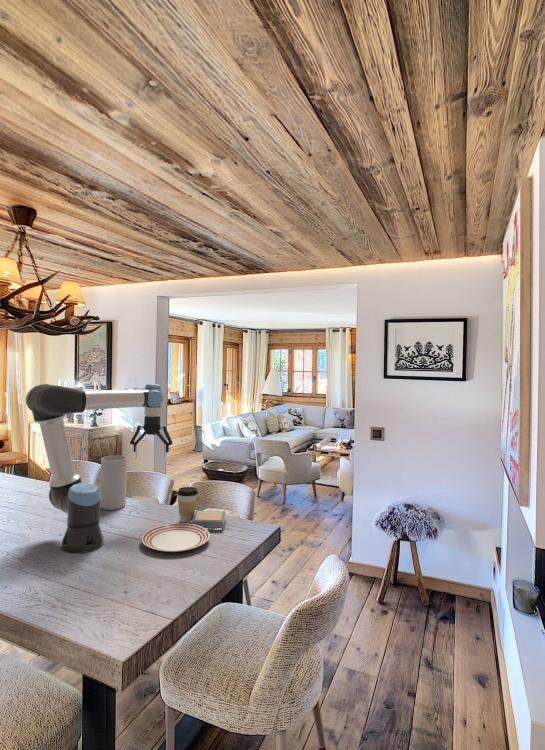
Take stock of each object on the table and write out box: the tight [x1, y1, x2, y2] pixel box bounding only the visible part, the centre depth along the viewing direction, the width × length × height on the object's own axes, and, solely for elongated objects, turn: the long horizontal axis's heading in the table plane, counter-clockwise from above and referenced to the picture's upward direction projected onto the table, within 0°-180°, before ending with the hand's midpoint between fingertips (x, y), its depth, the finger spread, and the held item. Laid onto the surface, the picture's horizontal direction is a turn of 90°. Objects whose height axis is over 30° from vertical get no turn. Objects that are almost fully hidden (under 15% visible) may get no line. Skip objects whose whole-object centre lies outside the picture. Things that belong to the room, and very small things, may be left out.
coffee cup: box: [176, 486, 199, 522], centre depth 196 cm, size 10×10×15 cm
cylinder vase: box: [99, 455, 128, 511], centre depth 213 cm, size 12×12×25 cm
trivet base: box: [191, 510, 226, 530], centre depth 192 cm, size 14×14×4 cm
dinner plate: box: [141, 522, 211, 553], centre depth 171 cm, size 28×27×3 cm
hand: (150, 458), depth 203 cm, fingers open, 13 cm apart
